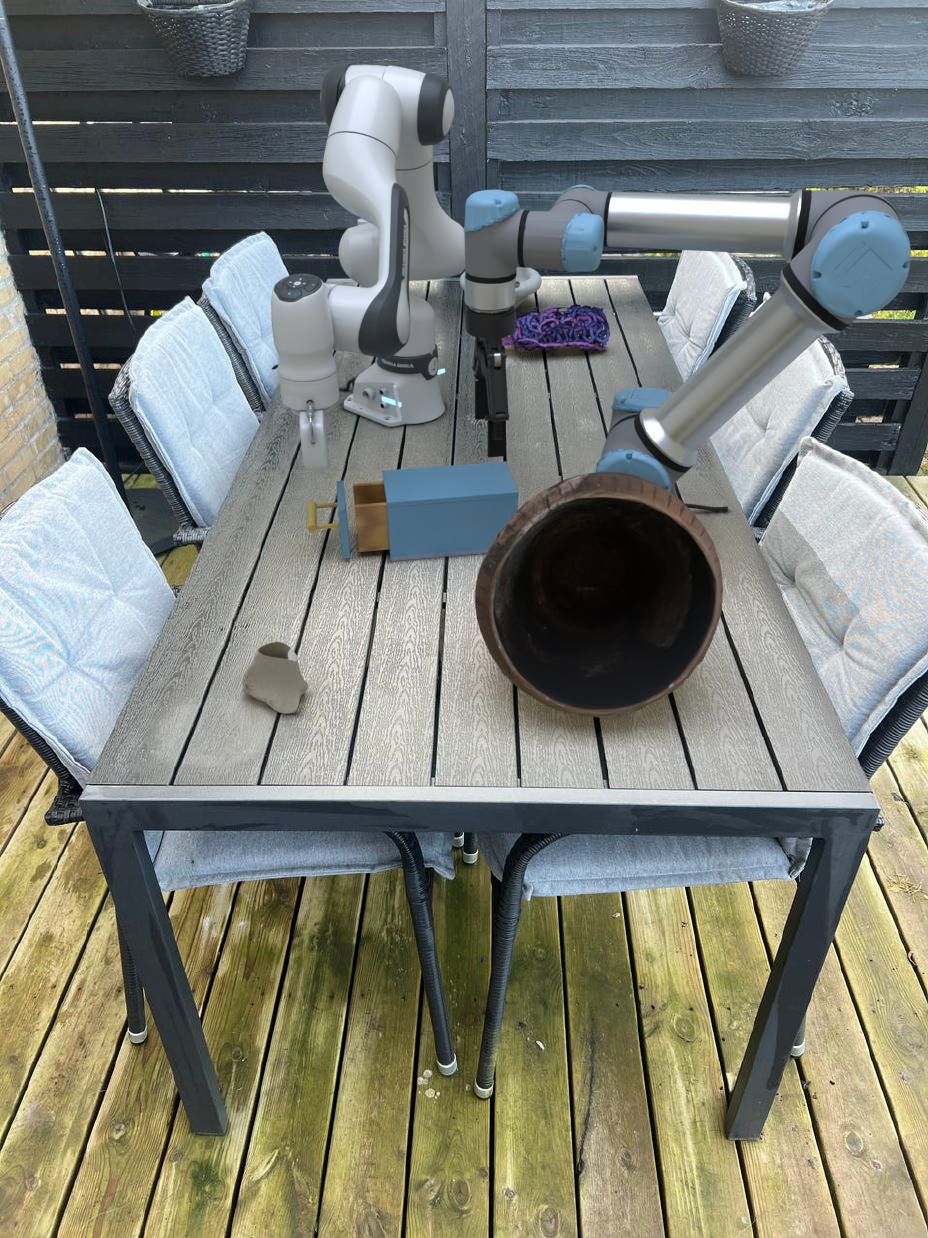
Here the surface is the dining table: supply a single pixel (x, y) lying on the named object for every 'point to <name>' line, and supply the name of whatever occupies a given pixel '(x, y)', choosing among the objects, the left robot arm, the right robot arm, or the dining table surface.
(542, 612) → the pot
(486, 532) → the blue open box
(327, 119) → the left robot arm
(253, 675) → the grey flared pouch
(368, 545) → the drawer
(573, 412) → the dining table surface
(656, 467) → the right robot arm
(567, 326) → the purple fibrous block
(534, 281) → the hat
